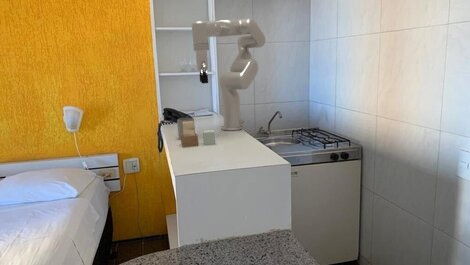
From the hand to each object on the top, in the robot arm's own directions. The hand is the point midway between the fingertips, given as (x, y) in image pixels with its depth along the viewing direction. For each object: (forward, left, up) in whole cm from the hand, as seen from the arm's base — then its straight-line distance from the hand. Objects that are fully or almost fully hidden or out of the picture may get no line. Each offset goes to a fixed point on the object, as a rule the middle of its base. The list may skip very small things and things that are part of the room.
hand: (204, 82), depth 186 cm
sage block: (+13, +12, -28) cm, 33 cm away
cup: (+8, -7, -28) cm, 30 cm away
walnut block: (+19, +5, -28) cm, 34 cm away
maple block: (+19, +5, -23) cm, 30 cm away
